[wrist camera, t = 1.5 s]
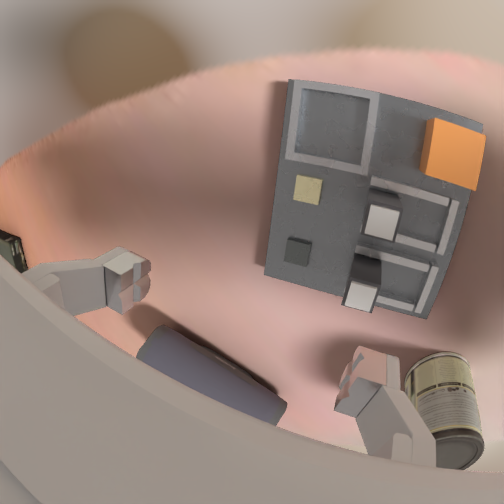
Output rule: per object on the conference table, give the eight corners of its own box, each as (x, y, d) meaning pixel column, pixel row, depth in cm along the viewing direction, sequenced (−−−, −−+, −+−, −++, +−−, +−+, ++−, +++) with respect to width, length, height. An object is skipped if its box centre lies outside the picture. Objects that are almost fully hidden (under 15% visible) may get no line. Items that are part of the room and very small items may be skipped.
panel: (476, 124, 22) (487, 123, 19) (424, 310, 31) (427, 325, 28) (293, 82, 28) (285, 77, 25) (269, 267, 37) (260, 279, 35)
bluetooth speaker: (164, 343, 52) (130, 376, 43) (174, 310, 47) (135, 344, 38) (271, 411, 48) (249, 454, 39) (296, 386, 43) (275, 435, 35)
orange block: (472, 135, 21) (486, 135, 18) (463, 183, 23) (475, 191, 20) (426, 120, 23) (435, 117, 19) (418, 169, 25) (425, 174, 21)
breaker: (381, 261, 29) (381, 287, 24) (373, 285, 30) (371, 315, 25) (354, 253, 30) (348, 278, 25) (347, 278, 31) (340, 307, 26)
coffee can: (476, 385, 31) (487, 463, 19) (416, 409, 36) (411, 486, 24) (461, 339, 30) (478, 424, 18) (393, 368, 36) (385, 454, 24)
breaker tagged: (398, 195, 26) (403, 209, 21) (391, 224, 28) (394, 245, 22) (369, 188, 27) (368, 200, 22) (363, 217, 28) (360, 235, 23)
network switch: (44, 304, 72) (31, 312, 68) (17, 291, 81) (6, 297, 77) (20, 228, 64) (6, 234, 59) (-2, 228, 73) (-14, 233, 68)
